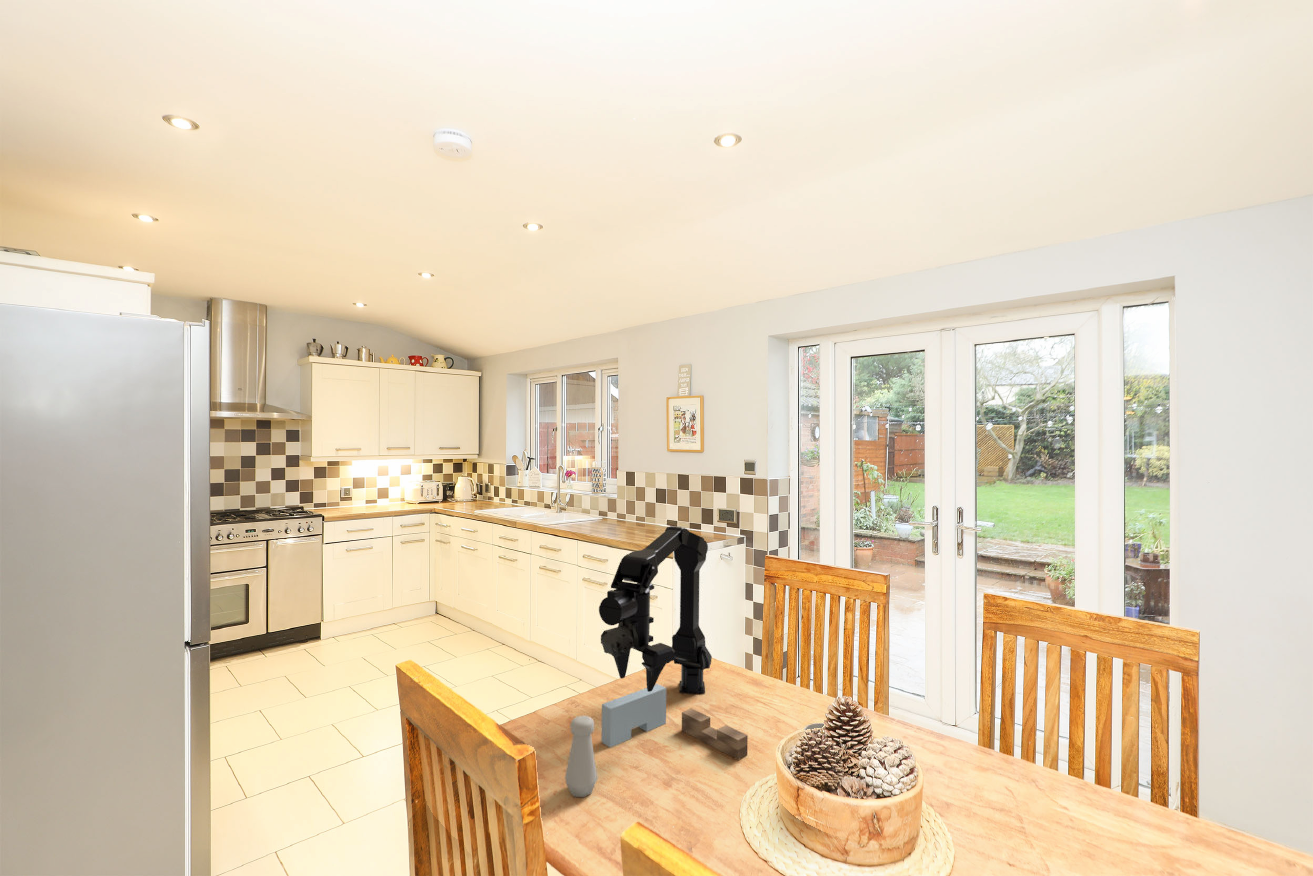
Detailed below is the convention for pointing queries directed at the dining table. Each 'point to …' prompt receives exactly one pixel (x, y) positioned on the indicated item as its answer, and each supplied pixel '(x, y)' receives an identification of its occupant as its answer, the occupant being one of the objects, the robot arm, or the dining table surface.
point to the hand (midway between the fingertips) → (635, 684)
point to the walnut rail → (715, 734)
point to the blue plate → (633, 714)
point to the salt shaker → (581, 758)
